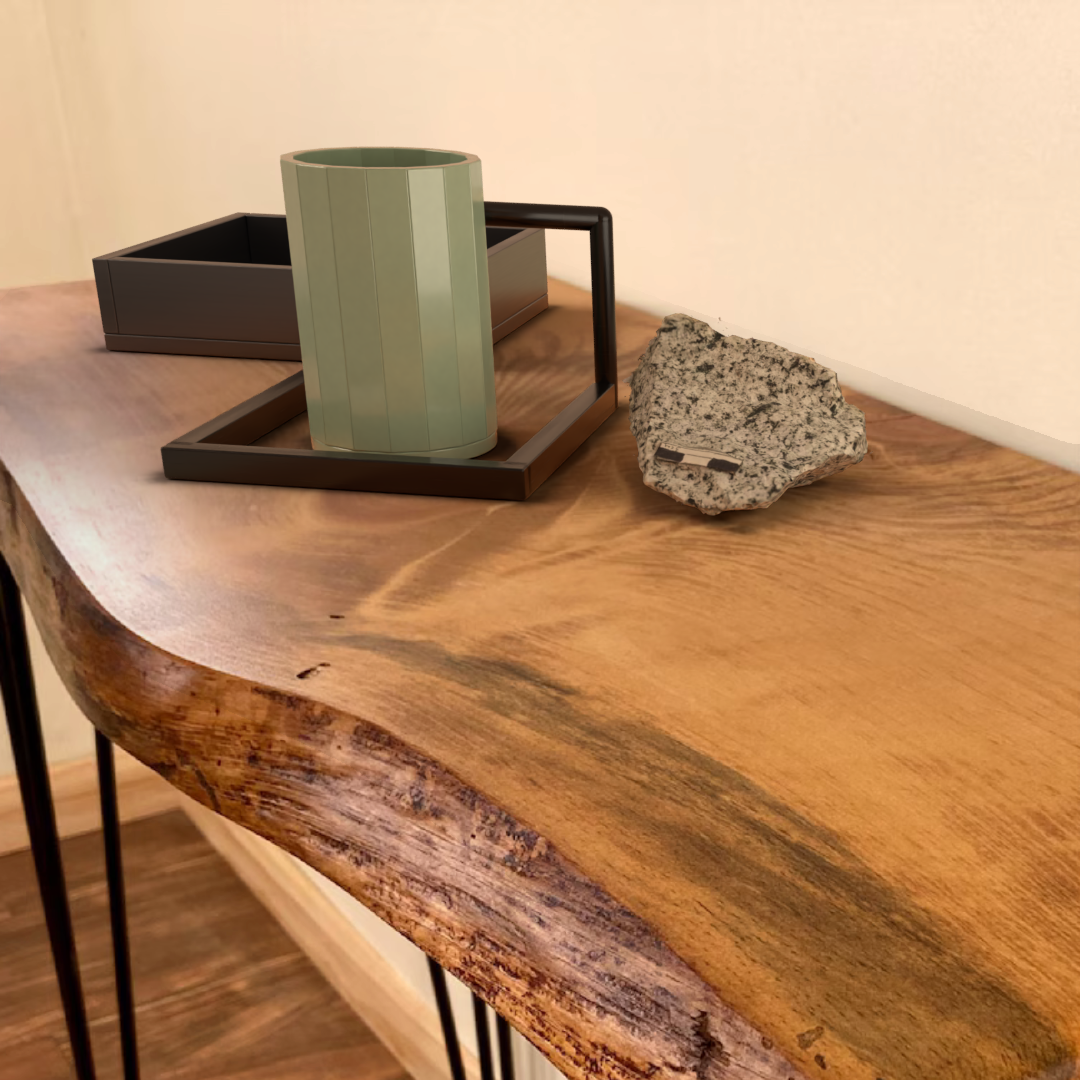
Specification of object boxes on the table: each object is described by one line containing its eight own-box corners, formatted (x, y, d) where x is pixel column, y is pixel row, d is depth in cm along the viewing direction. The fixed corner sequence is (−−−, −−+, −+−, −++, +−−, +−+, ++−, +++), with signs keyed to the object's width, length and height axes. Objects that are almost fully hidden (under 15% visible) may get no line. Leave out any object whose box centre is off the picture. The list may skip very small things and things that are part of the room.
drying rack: (163, 478, 67) (128, 243, 63) (319, 388, 81) (298, 190, 77) (525, 501, 66) (512, 263, 62) (620, 405, 80) (614, 205, 76)
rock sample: (567, 416, 61) (678, 224, 64) (553, 506, 69) (653, 330, 71) (832, 558, 63) (931, 363, 65) (791, 631, 70) (881, 453, 72)
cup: (282, 461, 70) (247, 163, 65) (351, 417, 76) (323, 143, 71) (466, 472, 69) (444, 172, 64) (519, 427, 76) (503, 151, 71)
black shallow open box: (105, 350, 87) (91, 258, 85) (246, 291, 101) (237, 212, 99) (457, 370, 85) (450, 276, 83) (548, 307, 100) (545, 227, 98)
